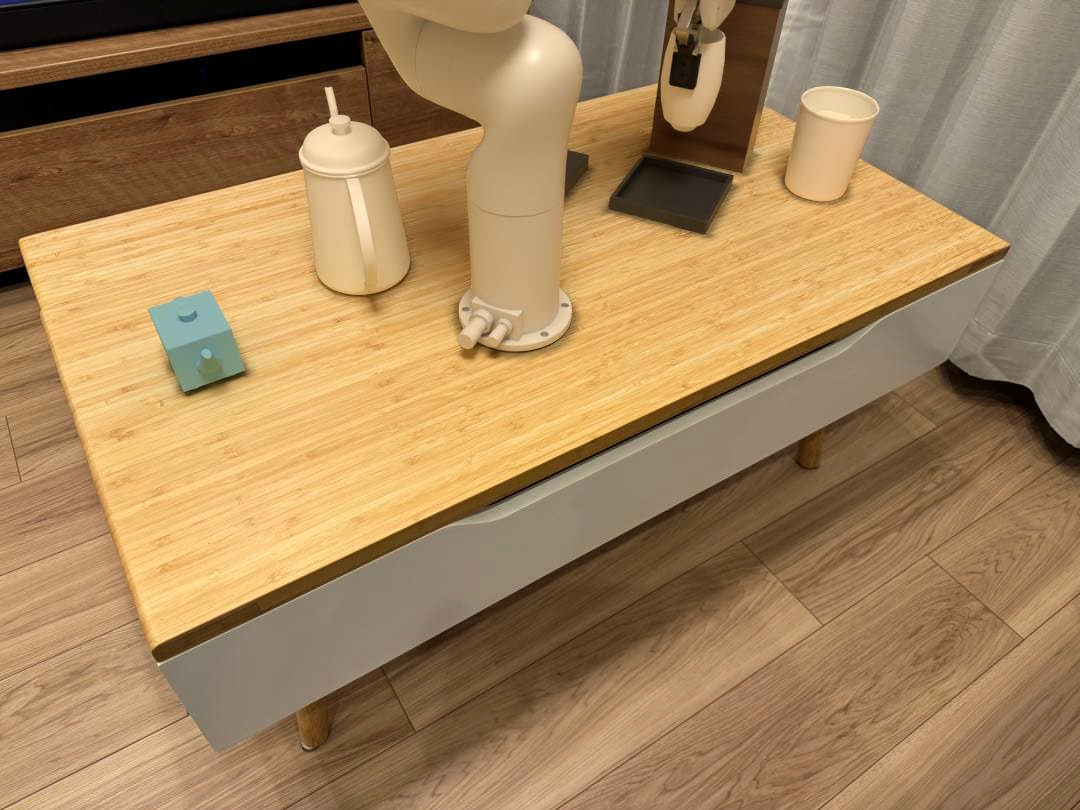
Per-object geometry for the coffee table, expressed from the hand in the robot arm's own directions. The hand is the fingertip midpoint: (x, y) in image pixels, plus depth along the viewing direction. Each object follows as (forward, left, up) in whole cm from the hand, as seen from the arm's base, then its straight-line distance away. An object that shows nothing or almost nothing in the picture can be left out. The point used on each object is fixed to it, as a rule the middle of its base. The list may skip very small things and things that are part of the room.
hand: (691, 73), depth 93 cm
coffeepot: (-32, +28, -17) cm, 46 cm away
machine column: (+14, 0, -17) cm, 22 cm away
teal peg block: (-54, +32, -17) cm, 65 cm away
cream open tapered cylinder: (+12, -17, -17) cm, 27 cm away
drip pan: (0, 0, -17) cm, 17 cm away
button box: (-4, +18, -17) cm, 25 cm away
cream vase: (0, 0, -16) cm, 16 cm away
